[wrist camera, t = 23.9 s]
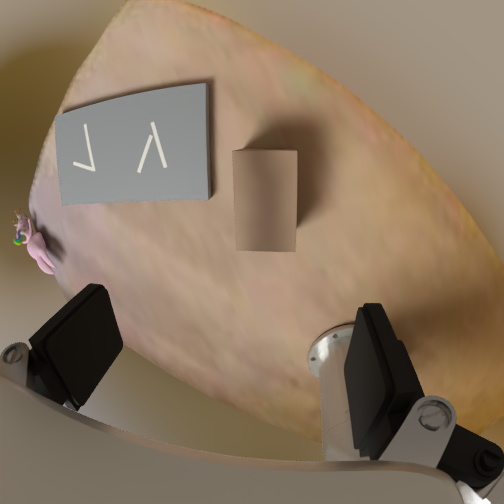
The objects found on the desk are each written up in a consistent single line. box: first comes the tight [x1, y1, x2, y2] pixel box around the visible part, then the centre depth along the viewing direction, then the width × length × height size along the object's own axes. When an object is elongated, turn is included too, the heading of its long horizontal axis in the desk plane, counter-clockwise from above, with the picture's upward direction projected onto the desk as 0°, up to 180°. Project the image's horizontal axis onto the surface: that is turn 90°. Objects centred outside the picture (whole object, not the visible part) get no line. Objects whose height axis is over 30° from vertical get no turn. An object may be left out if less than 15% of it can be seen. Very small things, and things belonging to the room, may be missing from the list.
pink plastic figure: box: [13, 209, 56, 274], centre depth 38 cm, size 6×6×15 cm
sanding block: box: [232, 148, 297, 252], centre depth 30 cm, size 6×10×7 cm, turn 1°
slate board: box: [55, 83, 212, 205], centre depth 32 cm, size 24×14×2 cm, turn 90°
